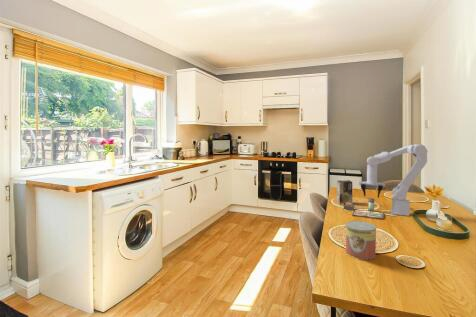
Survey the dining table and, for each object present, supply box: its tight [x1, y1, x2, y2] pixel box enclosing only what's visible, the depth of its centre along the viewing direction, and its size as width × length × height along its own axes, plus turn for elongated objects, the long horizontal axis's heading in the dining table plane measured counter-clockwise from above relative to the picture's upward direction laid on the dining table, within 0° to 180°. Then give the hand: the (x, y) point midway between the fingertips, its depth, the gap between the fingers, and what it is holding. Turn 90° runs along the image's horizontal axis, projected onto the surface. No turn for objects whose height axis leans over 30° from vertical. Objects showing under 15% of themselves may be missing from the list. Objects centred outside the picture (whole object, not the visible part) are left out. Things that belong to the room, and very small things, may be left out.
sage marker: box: [367, 197, 375, 212], centre depth 168 cm, size 3×3×8 cm
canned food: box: [345, 220, 377, 261], centre depth 109 cm, size 11×11×12 cm
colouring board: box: [352, 209, 385, 221], centre depth 160 cm, size 16×12×1 cm
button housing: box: [343, 204, 355, 211], centre depth 174 cm, size 6×6×2 cm
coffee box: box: [336, 179, 353, 204], centre depth 189 cm, size 9×6×16 cm
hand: (371, 196), depth 168 cm, fingers open, 7 cm apart
